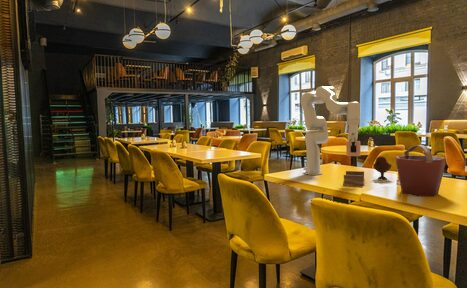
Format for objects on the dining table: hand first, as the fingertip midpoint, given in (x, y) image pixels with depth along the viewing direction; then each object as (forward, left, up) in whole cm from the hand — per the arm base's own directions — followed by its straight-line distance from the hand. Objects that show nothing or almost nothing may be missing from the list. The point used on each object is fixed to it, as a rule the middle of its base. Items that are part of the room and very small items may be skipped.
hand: (353, 151), depth 199 cm
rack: (0, 0, -19) cm, 19 cm away
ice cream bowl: (+5, +24, -20) cm, 32 cm away
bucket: (+39, -1, -20) cm, 44 cm away
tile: (0, 0, -3) cm, 3 cm away
